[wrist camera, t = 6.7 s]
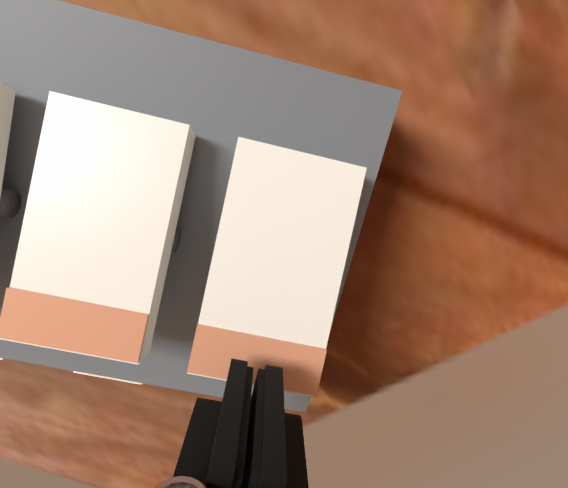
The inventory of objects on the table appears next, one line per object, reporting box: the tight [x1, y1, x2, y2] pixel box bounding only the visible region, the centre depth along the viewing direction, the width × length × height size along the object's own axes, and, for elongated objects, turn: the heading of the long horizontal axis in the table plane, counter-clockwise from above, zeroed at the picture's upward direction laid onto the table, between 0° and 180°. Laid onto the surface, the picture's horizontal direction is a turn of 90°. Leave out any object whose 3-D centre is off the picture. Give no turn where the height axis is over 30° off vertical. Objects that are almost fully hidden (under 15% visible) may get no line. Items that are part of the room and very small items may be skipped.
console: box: [0, 0, 402, 412], centre depth 15 cm, size 18×14×5 cm
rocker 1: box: [0, 91, 196, 365], centre depth 12 cm, size 4×8×1 cm, turn 167°
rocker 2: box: [187, 137, 367, 397], centre depth 12 cm, size 4×8×1 cm, turn 167°
